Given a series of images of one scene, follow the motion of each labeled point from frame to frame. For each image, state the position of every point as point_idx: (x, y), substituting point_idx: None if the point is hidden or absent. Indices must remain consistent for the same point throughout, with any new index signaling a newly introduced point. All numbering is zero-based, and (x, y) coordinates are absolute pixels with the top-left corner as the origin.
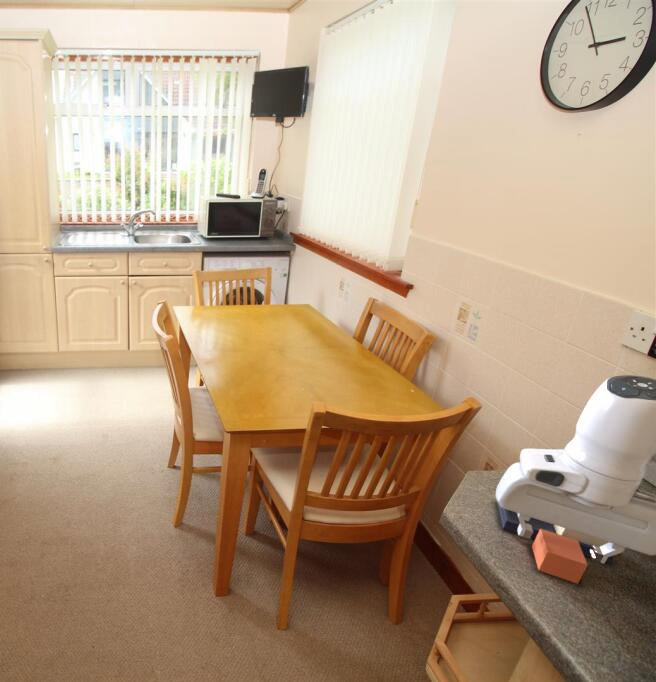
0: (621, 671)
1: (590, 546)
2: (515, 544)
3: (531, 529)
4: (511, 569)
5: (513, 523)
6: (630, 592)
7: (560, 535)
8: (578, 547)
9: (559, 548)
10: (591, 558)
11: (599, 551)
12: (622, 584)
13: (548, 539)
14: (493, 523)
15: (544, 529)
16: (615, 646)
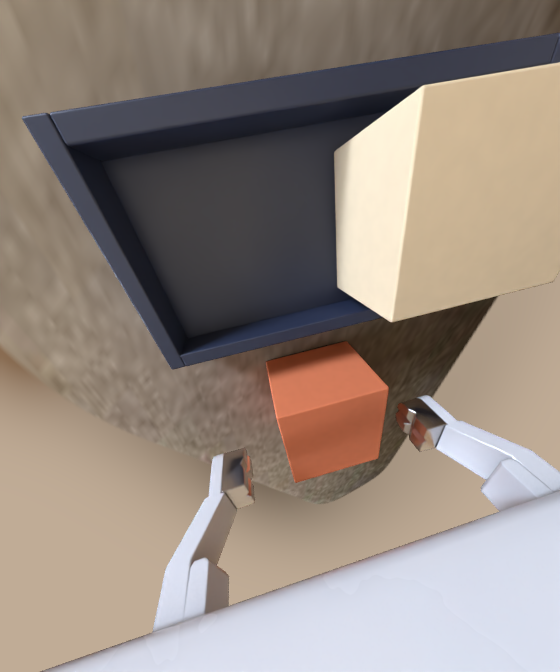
0: (357, 486)
1: None
2: (229, 382)
3: (248, 498)
4: None
5: (196, 362)
6: (438, 355)
7: (338, 405)
8: (378, 419)
9: (324, 457)
10: (398, 420)
11: (432, 441)
12: (435, 341)
13: (299, 448)
14: (148, 336)
15: (298, 252)
16: (363, 467)
